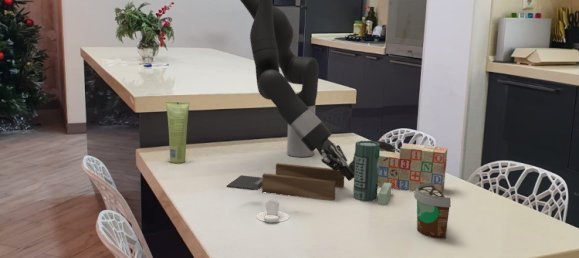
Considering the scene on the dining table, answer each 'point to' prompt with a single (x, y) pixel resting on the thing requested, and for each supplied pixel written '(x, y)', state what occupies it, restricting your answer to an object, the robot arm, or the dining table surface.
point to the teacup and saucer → (272, 212)
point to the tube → (177, 130)
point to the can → (366, 170)
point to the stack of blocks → (413, 167)
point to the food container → (432, 211)
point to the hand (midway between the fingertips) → (352, 178)
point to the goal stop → (384, 193)
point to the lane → (303, 181)
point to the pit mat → (246, 183)
